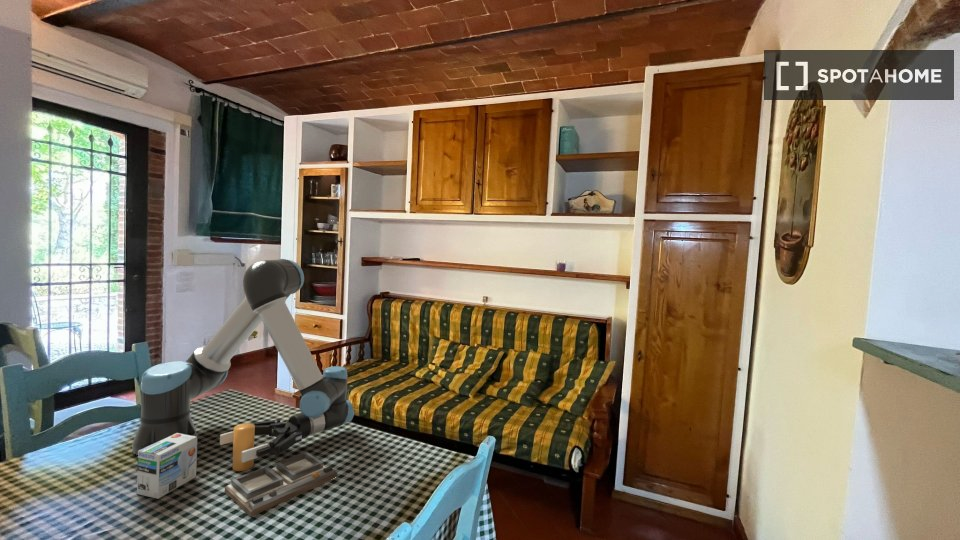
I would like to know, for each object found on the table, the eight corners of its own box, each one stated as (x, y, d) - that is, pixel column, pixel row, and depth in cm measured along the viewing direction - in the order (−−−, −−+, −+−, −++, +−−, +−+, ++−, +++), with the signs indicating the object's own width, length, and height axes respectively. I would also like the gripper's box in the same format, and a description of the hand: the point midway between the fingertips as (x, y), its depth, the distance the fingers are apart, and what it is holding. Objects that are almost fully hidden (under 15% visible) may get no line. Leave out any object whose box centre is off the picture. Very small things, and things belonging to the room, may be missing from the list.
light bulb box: (158, 499, 97) (159, 455, 97) (135, 494, 99) (135, 450, 98) (197, 476, 108) (198, 435, 107) (176, 471, 109) (177, 431, 109)
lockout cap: (229, 466, 113) (230, 427, 112) (248, 459, 117) (249, 421, 116) (237, 473, 110) (238, 432, 109) (256, 466, 114) (258, 427, 113)
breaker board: (224, 491, 102) (225, 479, 101) (308, 458, 119) (309, 448, 119) (250, 516, 93) (250, 503, 93) (336, 477, 111) (337, 465, 110)
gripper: (328, 450, 120) (251, 479, 103) (284, 424, 135) (212, 446, 118) (329, 424, 120) (252, 450, 103) (285, 401, 135) (212, 420, 118)
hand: (230, 448), depth 111 cm, fingers open, 13 cm apart
